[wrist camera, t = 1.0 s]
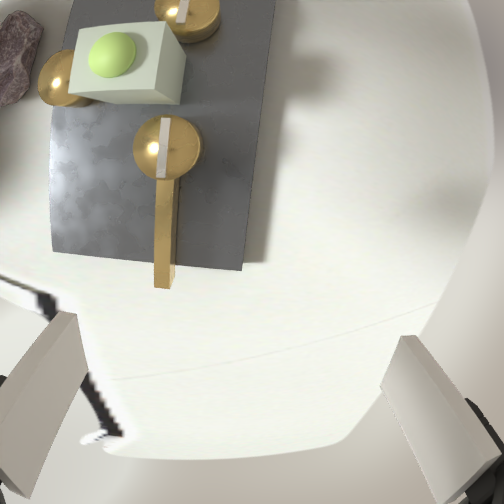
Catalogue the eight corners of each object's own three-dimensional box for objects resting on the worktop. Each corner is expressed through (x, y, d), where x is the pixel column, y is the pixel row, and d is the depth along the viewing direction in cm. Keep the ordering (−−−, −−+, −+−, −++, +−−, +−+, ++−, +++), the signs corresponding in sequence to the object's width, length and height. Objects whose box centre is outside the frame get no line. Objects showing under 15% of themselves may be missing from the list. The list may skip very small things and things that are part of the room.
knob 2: (149, 116, 24) (133, 113, 20) (206, 119, 25) (200, 115, 20) (142, 272, 29) (129, 294, 25) (193, 277, 30) (187, 301, 25)
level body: (115, 104, 24) (63, 92, 15) (122, 57, 22) (75, 26, 13) (179, 104, 24) (151, 87, 15) (186, 55, 23) (163, 17, 14)
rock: (60, 13, 21) (39, 1, 17) (29, 109, 25) (4, 108, 20) (12, 18, 20) (-10, 10, 16) (-14, 105, 24) (-39, 105, 19)
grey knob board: (61, 245, 30) (33, 266, 24) (98, -44, 19) (78, -67, 13) (241, 262, 32) (242, 290, 26) (280, -48, 20) (289, -78, 15)
